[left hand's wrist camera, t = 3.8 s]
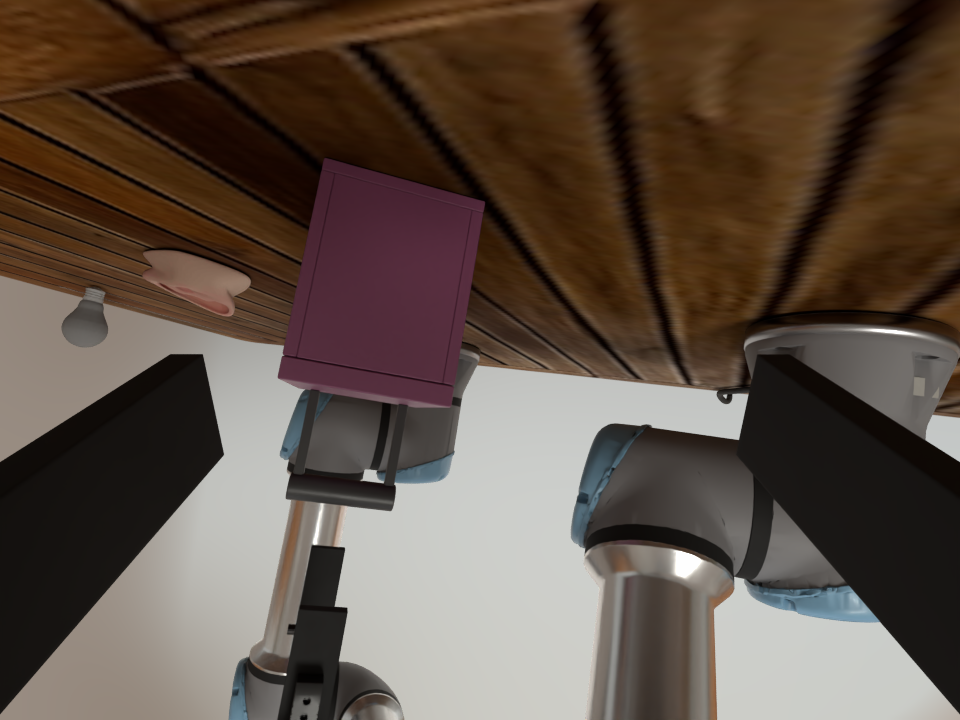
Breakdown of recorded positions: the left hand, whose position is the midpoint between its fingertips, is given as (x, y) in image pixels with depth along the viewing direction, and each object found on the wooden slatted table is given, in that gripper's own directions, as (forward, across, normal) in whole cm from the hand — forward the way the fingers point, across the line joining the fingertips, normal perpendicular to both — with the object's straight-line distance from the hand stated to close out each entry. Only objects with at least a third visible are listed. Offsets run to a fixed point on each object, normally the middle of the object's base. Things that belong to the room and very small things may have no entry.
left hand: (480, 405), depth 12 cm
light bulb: (+72, +63, +14) cm, 97 cm away
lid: (+20, +8, +8) cm, 23 cm away
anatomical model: (+48, +32, +6) cm, 58 cm away
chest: (+26, +6, -2) cm, 26 cm away
